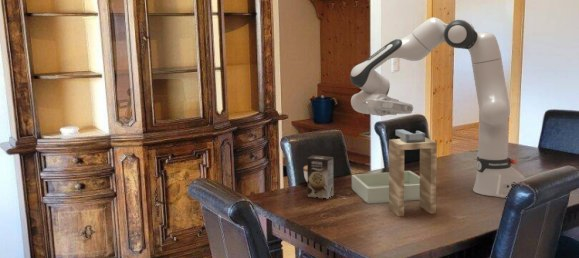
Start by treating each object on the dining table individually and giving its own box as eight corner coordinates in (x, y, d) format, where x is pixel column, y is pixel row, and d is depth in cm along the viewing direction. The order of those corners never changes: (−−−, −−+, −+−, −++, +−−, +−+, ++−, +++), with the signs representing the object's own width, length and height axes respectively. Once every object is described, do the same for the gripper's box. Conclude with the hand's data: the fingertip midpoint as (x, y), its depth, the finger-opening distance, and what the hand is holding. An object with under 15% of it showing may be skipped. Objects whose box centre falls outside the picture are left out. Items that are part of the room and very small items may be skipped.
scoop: (408, 134, 209) (408, 126, 209) (425, 141, 194) (425, 133, 193) (390, 135, 208) (390, 127, 208) (406, 143, 193) (406, 134, 192)
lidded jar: (308, 188, 234) (307, 167, 232) (300, 182, 244) (300, 161, 242) (331, 186, 236) (331, 164, 235) (323, 180, 247) (323, 159, 245)
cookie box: (307, 196, 222) (306, 157, 219) (314, 192, 227) (313, 154, 224) (327, 199, 217) (327, 159, 215) (334, 195, 223) (333, 156, 220)
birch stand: (424, 205, 206) (425, 137, 202) (435, 213, 197) (436, 142, 192) (388, 208, 204) (389, 139, 200) (398, 216, 194) (398, 144, 190)
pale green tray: (410, 184, 236) (410, 170, 235) (431, 198, 214) (431, 183, 213) (351, 188, 231) (351, 174, 230) (367, 203, 210) (367, 188, 209)
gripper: (360, 94, 218) (383, 96, 206) (399, 100, 229) (422, 102, 217) (358, 109, 219) (380, 112, 207) (397, 115, 229) (420, 118, 217)
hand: (402, 107), depth 212 cm, fingers open, 8 cm apart
